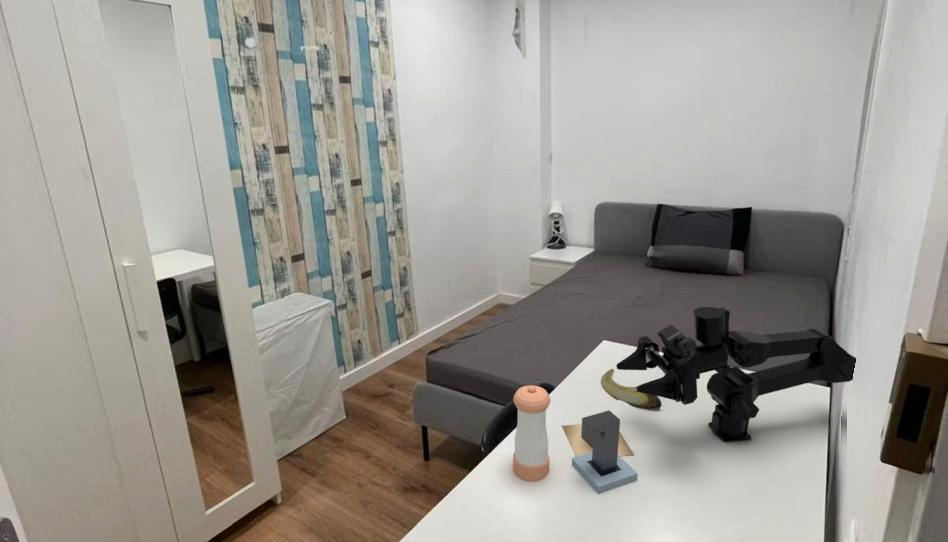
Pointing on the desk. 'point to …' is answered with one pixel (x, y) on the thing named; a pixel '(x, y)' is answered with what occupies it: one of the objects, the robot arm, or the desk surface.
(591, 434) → the grey hook block
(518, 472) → the salt shaker
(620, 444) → the tan metal pad
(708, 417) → the desk surface
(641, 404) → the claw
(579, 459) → the square socket block
